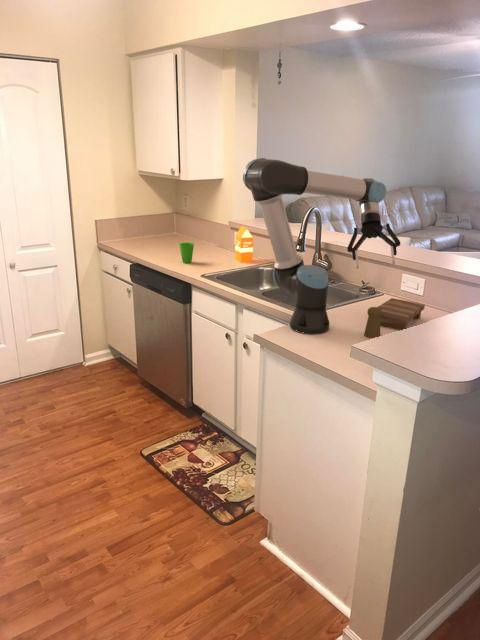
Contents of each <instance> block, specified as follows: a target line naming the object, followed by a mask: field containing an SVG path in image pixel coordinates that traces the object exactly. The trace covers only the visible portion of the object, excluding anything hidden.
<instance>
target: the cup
mask: <svg viewBox="0 0 480 640" xmlns="http://www.w3.org/2000/svg"><path fill="white" fill-rule="evenodd" d="M178 245H179V249H180V256H181V260H182V261H181V262H182V263H183V264H192V262H193V254H194V249H195V248H194V246H195V243H194V242H179V243H178Z"/></svg>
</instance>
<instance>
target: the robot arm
mask: <svg viewBox="0 0 480 640" xmlns="http://www.w3.org/2000/svg"><path fill="white" fill-rule="evenodd" d="M242 181H243V184H244V186H245V187H246V188H247V189H248V190H249V191H250V192H251V195H252V198H253V201H254V202H255V203H257V204H259V206H260V210H261V213H262V216H263V219H264V223H265V227H266V230H267V233H268V237H269V240H270V244H271V247H272V251H273V254H274V257H275V261H274V264H273V267H274V268H273V269H274V270H273V271H272V278H273V282H274V284H275V285H276V286H277V287H278V288H280V290H282V291H284V292H287V293H289V294H291V295H293V296H295V308H294V310H293V312H292V316H291V318H290V320H289V327H291V328H292V329H294V330H297V331H299V332H298V333H300V332H304V333H303V334H305V333H320V334H324V333H327V332H328V331H329V330H330V320H329V317H328V311H327V299H328V298H327V297H328V289H329V288H328V287H329V273H328V272H327V270H326V269H325V268H323V267H321V266H318V265H313V264H305V262H304V257H303V255H301V254H299V253H298V252H297V248H296V245H295V241H294V238H293V237H294V236H293V233H292V230H291V226H290V222H289V220H288V219H289V218H288V216H287V215H288V214H287V211H286V209H285V205H284V204H285V203H284V201H283V195H294V196H295V195H296V196H301V195H303V194H304V193H305V194H311V195H319V196H325V197H335V198H341V199H348V200H353V201H356V202H358V204H359V215H360V224H361V227H360V228H357V227H354V229H353V234H352V236H351V239H350V241H349V244H348V246H347V247H346V249H347V253H351V254H352V260H353V261H355V262H356V263H355V264H356V269H360V267H359V257H358V255H359V254H358V250H359V249H360V247H361V246H362V244H363V243H364V242H365V240H367V239H372V238H373V239H377V237H378V238H380V239H382V240H383V242H385V243H386V244H388V245H389V246H390V256H391V261H392V262H391V264H392V265H395V264H396V263H395V261H396V259H395V256H397V255H398V252H397V251H398V250H397V247H400V246H401V240H400V239H399V238H398V236H397V235H396V234H395V232H394V231H393V229H391V225H390V223H388V222H387V223H386V224H384V225H382V222H381V212H380V204H379V203H381V202H382V201H383V200H384V199H385V197H386V195H387V187H386V185H385V184H384V183H383V182H381V181H377V180H375V179H374V178H372V177H365V178H362V179H361V178H355V177H349V176H345V175H336V174H331V173H325V172H319V171H312V170H308V169H307V168H306V167H305V166H301V165H297V164H292V163H290V162H286V161H283V160H280V159H270V158H269V159H268V158H265V157H261V158H255V159H252V160H251V161H249V162H248V163H247V164H246V166H245V167H244V169H243V173H242ZM383 230H384V231H386V232H387V234H388V235H389V237H388V236H387V235H385V233H384V232H382V231H383ZM360 233H361V236H360V238H359V239H358V240H357V242H356V239H357V238H358V235H359V234H360ZM355 242H356V243H355ZM291 328H290V329H291ZM292 329H291V330H292ZM294 330H293V331H294ZM326 331H327V332H326ZM323 332H324V333H323Z"/></svg>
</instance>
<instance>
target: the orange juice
mask: <svg viewBox="0 0 480 640" xmlns="http://www.w3.org/2000/svg"><path fill="white" fill-rule="evenodd" d="M250 232H251V231H249V229H248V228H247V227H245V226H243V225H241V227H240V228H239V230H238V231H237V232H236V234H235V261H237V262H239V263H242V264H243V263H252V262H251V261H253V258H254V257H253V256H254V236H253V235H252V234H251V233H250Z"/></svg>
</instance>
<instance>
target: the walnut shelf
mask: <svg viewBox="0 0 480 640" xmlns="http://www.w3.org/2000/svg"><path fill="white" fill-rule="evenodd" d="M425 306H426V304H425V303H420V302H414V301H410V300H403V299H398V298H395V297H394V298H393V297H391V298H389V299H388V300H386V301H385V302H383V303H381V304H380V305H378V306H377V307H378V308H380V309H381V310H382V315H381V317H380V327H383V328H389V329H392V330H398V331H402V330H403V329H406V330H407V325H408V322H409V321H411V320H412V319H415V320H420V319H421V315H422V312H423V311H424V310H425V308H426V307H425Z"/></svg>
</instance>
